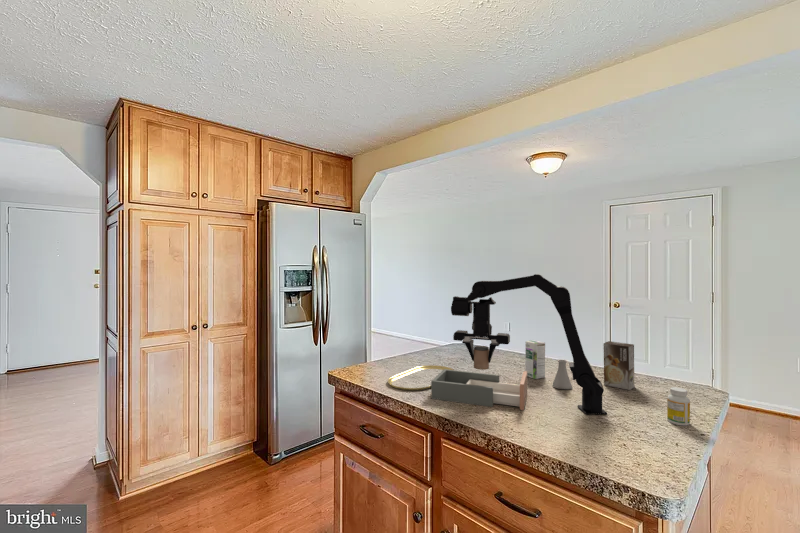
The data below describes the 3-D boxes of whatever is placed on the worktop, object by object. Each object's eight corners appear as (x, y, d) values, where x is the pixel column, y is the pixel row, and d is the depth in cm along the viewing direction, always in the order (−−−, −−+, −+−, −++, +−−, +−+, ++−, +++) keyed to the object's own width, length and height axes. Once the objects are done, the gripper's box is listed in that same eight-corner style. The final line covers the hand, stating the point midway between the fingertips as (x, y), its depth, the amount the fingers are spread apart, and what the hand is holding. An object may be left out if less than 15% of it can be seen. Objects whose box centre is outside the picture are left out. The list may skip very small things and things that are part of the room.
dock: (499, 391, 138) (499, 374, 138) (492, 406, 123) (492, 388, 123) (444, 384, 146) (444, 369, 146) (431, 398, 131) (431, 381, 131)
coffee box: (635, 387, 143) (635, 344, 143) (629, 390, 139) (629, 346, 139) (609, 381, 150) (609, 340, 150) (602, 384, 146) (602, 342, 146)
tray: (527, 393, 134) (527, 371, 134) (523, 410, 119) (523, 384, 119) (470, 387, 142) (470, 365, 142) (460, 401, 127) (460, 377, 127)
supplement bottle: (677, 426, 108) (677, 392, 108) (662, 419, 113) (662, 386, 113) (695, 425, 108) (694, 392, 108) (679, 418, 114) (679, 386, 114)
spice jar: (490, 369, 130) (490, 348, 130) (474, 369, 130) (475, 348, 130) (487, 365, 135) (487, 345, 135) (472, 365, 135) (472, 345, 135)
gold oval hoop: (378, 386, 145) (378, 382, 145) (426, 366, 174) (426, 363, 174) (419, 396, 135) (419, 391, 135) (463, 373, 163) (463, 369, 163)
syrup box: (524, 375, 158) (524, 340, 158) (535, 374, 160) (535, 339, 160) (534, 379, 153) (534, 343, 153) (545, 377, 155) (545, 342, 155)
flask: (568, 384, 147) (568, 358, 147) (575, 390, 139) (575, 363, 139) (549, 383, 147) (549, 357, 147) (555, 389, 140) (555, 362, 140)
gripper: (511, 315, 137) (511, 359, 137) (460, 313, 144) (460, 354, 144) (508, 319, 126) (507, 366, 126) (453, 316, 133) (452, 361, 133)
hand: (481, 361), depth 133 cm, fingers closed on spice jar, 5 cm apart
